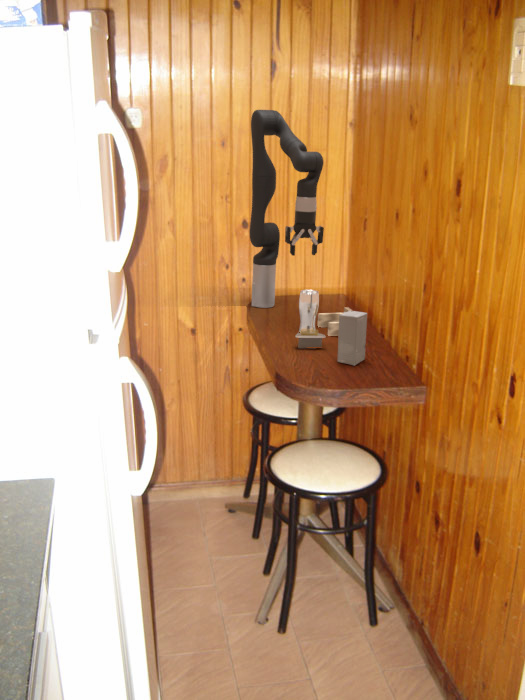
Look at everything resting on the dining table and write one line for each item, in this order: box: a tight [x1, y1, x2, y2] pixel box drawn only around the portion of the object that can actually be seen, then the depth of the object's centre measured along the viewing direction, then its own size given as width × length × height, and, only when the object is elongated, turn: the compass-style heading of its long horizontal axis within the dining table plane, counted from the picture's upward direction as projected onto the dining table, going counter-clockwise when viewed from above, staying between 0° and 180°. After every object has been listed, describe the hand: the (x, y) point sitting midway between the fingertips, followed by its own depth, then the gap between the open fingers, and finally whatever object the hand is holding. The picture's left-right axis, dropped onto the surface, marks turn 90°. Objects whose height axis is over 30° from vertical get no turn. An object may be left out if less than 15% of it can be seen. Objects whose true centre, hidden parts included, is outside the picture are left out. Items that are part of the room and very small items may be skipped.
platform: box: [295, 328, 326, 349], centre depth 245 cm, size 12×18×7 cm, turn 95°
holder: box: [317, 306, 353, 337], centre depth 265 cm, size 12×13×7 cm
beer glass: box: [298, 289, 320, 333], centre depth 261 cm, size 7×7×15 cm
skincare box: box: [337, 310, 368, 367], centre depth 232 cm, size 8×7×16 cm
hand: (303, 255), depth 266 cm, fingers open, 7 cm apart
